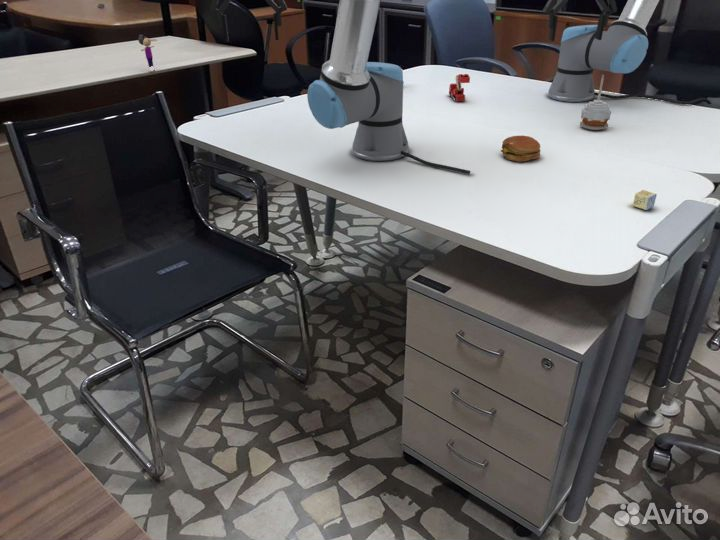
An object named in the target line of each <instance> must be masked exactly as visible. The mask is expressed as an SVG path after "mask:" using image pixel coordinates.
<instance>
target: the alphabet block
mask: <svg viewBox="0 0 720 540" xmlns="http://www.w3.org/2000/svg"><path fill="white" fill-rule="evenodd" d="M657 195H658V194H657V193H655V192H651V191H648V190H645V189H642V190H640V191H637V192H636V193H635V194H634V198H633V203H632V206H633V207H635V208H638V209H640V210H641V209H642V210H644V211H648V210H650V209H652V208H654V207H655V203H656V199H657Z"/></svg>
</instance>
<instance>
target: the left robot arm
mask: <svg viewBox="0 0 720 540" xmlns="http://www.w3.org/2000/svg"><path fill="white" fill-rule="evenodd" d="M219 1H220V0H212V1H211V5H210V8H209V13H211V14H214V15H216V16H217V22H218V27H219V29H223V36H224V43H229V41H230V37H229V29H228V22H227V15H226V14H223V13H224V12H225V10H226V8H227V7H228V6H229V4H230V3H231V1H232V0H223V2H222V4H221V5H220V6H219V8H217V7H218V4H219ZM264 1H265V2H266V3H267V4H268V5H269V6H270V7H271V9H273V11H274V12H273V14H272V15H273V24H274V25H273V27H274V36H275V41H279V40H280V35H279V27H282V25H283V22H282V13H283V12H285V11H287V9H288V6H287V4H286V2H285V0H277V2H278V4H279V6H278V5H277V3H276V2H275V1H274V0H264ZM381 1H382V0H339V3H338V10H337V16H336V20H335V21H336V22H335V28H334V33H333V38H332V44H331V49H330V57H329V59H328V60H327V61H325V62H324V63H323V64H322V66H321V71H320V76H319V79H315V80H314V81H313V82H312V83H310V84H309V86H308V88H307V95H306V96H307V104H308V108H309V111H310V112H311V115H312V116H313V118H314V120H315V121H316V122H317V123H318V124H319V125H320V126H322V127H323V128H325V129H328V130H329V129H330V130H333V129H338V128H344V127H346V126H348V125H351V124H356V123H358V125H357V128H356V131H355V135H354V138H353V141H352V155H353V156H354V157H356V158H358V159H360V160H364V161H371V162H389V161H394V160H398V159H399V160H400V159H401V158H404V157H407V158H410V159H412V160H414V161H416V162H418V163H420V164H423V165H425V166H429V167H433V168H437V169H442V170H447V171H453V172H456V173H462V174H467V175H471V170H468V169H464V168H459V167H454V166H450V165H447V164H441V163H436V162H430V161H427V160H426V159H425V160H424V159H422V158H420V157H418V156H416V155H413V154H411V153H409V151H410V150H409V149H410V146H409V141H408V137H407V134H406V132H405V128H404V125H403V124H404V123H403V108H404V107H403V106H404V84H405V81H404V72H403V69H402V68H401V66H399V65H397V64H393V63H389V62H388V63H387V62H377V61H368V60H369V56H370V52H371V46H372V42H373V38H374V34H375V33H374V32H375V28H376V25H377V21H378V20H377V19H378V15H379V10H380V7H381V6H380V5H381Z"/></svg>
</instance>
